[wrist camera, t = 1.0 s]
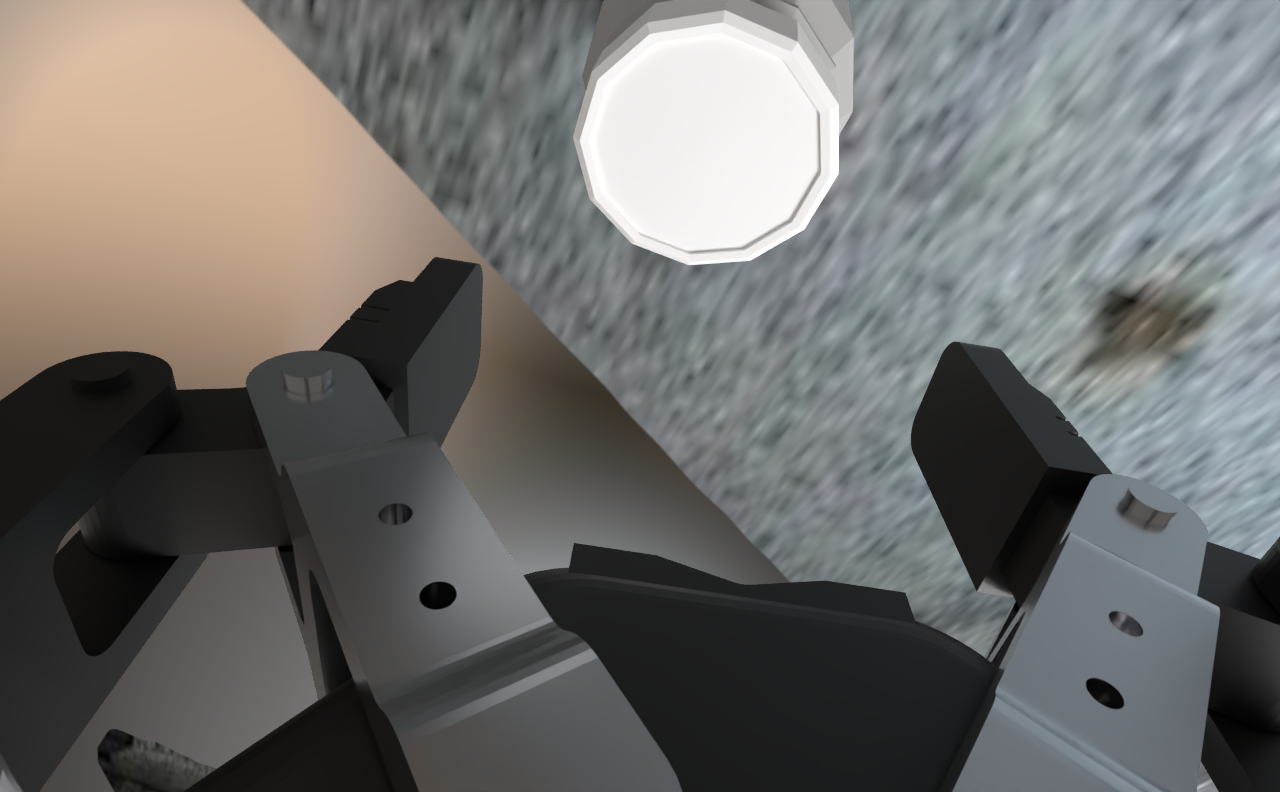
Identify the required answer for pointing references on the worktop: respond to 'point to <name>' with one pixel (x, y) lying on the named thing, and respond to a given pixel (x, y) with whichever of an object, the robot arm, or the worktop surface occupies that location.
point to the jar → (714, 120)
